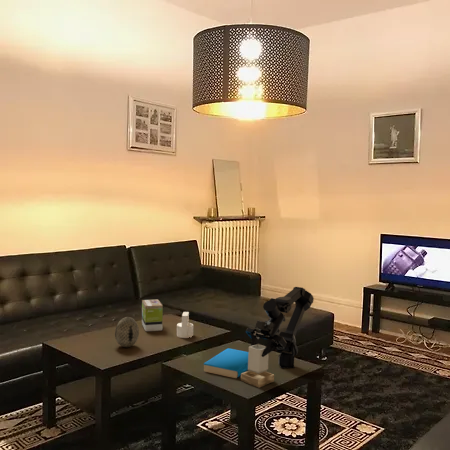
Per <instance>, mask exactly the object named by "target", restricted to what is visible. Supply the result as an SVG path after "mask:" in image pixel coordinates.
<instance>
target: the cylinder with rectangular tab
mask: <svg viewBox="0 0 450 450" xmlns="http://www.w3.org/2000/svg"><path fill="white" fill-rule="evenodd" d="M189 315H190V312H189V311H183V312H182V314H181V322H178V323H177V324H176V337H177V338H180V339H188V338H189V337H190V338H192V336H194V324H193V323H191V322H189V321H190V317H189ZM190 338H189V339H190Z"/></svg>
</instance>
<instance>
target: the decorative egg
mask: <svg viewBox="0 0 450 450" xmlns="http://www.w3.org/2000/svg"><path fill="white" fill-rule="evenodd" d="M139 329H140V328H139V325H138V322H137V321H136V320H135V319H134V318H133V317H130V316H125V317H123V318H121V319H120V320H119V321H118V323H117V325H116V327H115V330H114V331H115V332H114V338H115V341H116V342H117V344H118V345H119V346H121V347H123V348H130V347H132V346H134V345H135V344H136V343H137V341H138V339H139V335H140V330H139Z"/></svg>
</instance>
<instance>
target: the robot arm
mask: <svg viewBox="0 0 450 450" xmlns="http://www.w3.org/2000/svg"><path fill="white" fill-rule="evenodd" d="M314 299H315V298H314V296H313V294H312V293H311V292H309V291H308V290H306V288H304V287H299V286H294V287H293V288H292V289H291V290H290V291H288V293H287V294H285V295H284V296H279V297H276V298H272V297H271V298H270V299H269V300H267V301H265V303H263V306H262V307H263V310H264V312H265V314H266V315H267V316H268V320H264V321H260V320H258V319H256V322H255V325H254V327H247V328H246V330H245V333H246V334H247V335H248V337H249V338H250V339H251V344H250V346H252V345H255V344H260V345H261V341H260V340H259V339H262V340H266V341H267V344H266V345H265V346H266V348H265V349H264V351H263V353H262V357H264V356H266V355H267V354H270V353H272V352H273V351H275V350H276V353H279V354H278V357H277V360H278V362H277V363H278V365H279V367H280V369H295V368H296V367H295V356H297V355H298V352H299V347H298V346H297V341H296V335H297V331H298V329H299V326H300V324H301V323H302V322H301V321H302V319H303V316H304V314H305V312H306V311H307V310H309V309H310V308H311V306H312V305H313V303H314V301H315V300H314ZM293 304H294V305H295V307H294V310H293V311H292V314H291V317H290V319H289V320H288V323H287V326H286V329H285V331H280V327H281V325H282V323H283V322H286V315H285V314H287V313H289V312H290V311H291V310H292V305H293ZM283 313H284V314H283ZM257 329H258V330H257ZM277 333H279V334H277Z"/></svg>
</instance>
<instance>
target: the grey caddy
mask: <svg viewBox="0 0 450 450" xmlns="http://www.w3.org/2000/svg"><path fill="white" fill-rule="evenodd" d="M266 346H267V345H264V344H261V343H260V344H255V345H252V346H251V345H250V346H248V352H249V353H248V370H247V371H249V370H250V371H252V372H255V373H258V374H260V373H262V372H265V371H266V372H268V370H269V354H270V353H269V354H267V355H266V356H264V357H262V353H263V351H264V349H265V348H266Z"/></svg>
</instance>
